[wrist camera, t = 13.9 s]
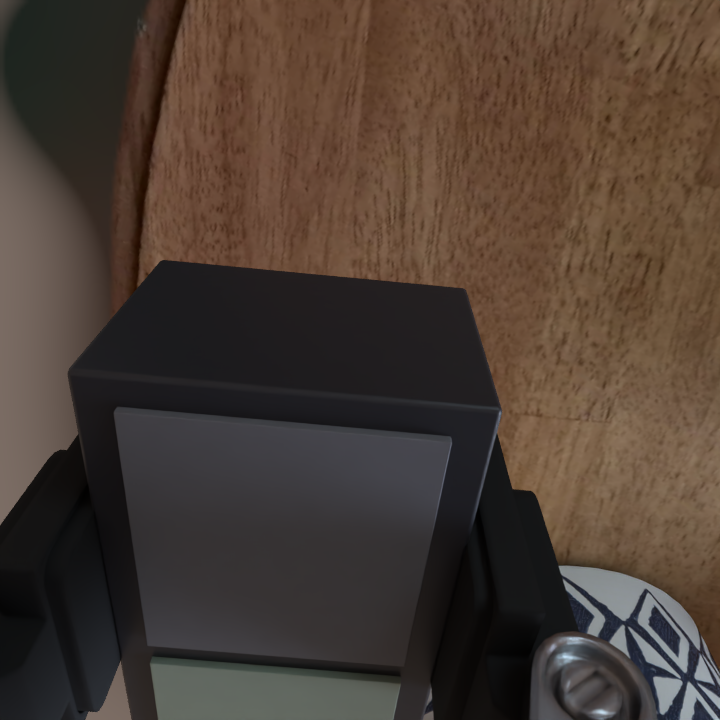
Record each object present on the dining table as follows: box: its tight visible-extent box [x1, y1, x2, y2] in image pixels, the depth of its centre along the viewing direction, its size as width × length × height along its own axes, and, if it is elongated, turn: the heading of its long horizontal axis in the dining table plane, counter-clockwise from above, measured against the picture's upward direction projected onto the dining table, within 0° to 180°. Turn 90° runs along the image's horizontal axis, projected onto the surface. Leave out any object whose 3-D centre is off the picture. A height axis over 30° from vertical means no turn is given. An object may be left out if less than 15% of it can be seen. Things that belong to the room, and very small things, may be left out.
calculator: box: [68, 260, 502, 720], centre depth 9 cm, size 7×5×3 cm, turn 175°
